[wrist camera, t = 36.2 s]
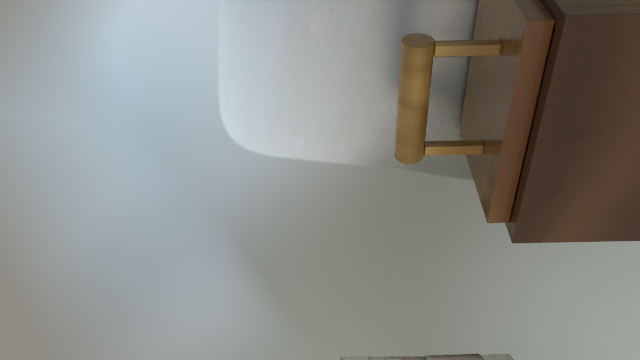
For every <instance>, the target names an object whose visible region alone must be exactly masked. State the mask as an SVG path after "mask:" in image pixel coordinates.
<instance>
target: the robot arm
mask: <svg viewBox="0 0 640 360" xmlns="http://www.w3.org/2000/svg"><path fill="white" fill-rule="evenodd" d="M340 360H513V358H512V357H511V356H510V355H509V354H489V355H479V354H462V355H461V354H460V355H431V356H424V357H423V356H418V357H416V356H414V357H368V356H366V357H365V356H364V357H341V358H340Z"/></svg>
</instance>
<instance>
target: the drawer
mask: <svg viewBox="0 0 640 360" xmlns="http://www.w3.org/2000/svg"><path fill="white" fill-rule="evenodd" d="M554 23H555V19H554V18H553V16H552V15H551V14H550V12H549V11H548V9H547V8H546V7H545V5H544V4H543V2H542V1H541V0H479V1H478V8H477V15H476V22H475V29H474V37H473V40H454V41H434V39H433V38H432V37H431V36H429V35H426V34H419V33H415V34H409V35H406V36H404V37H403V38H402V41H401V56H400V73H399V89H398V105H397V121H396V138H395V158H396V159H397V160H398V161H400V162H402V163H405V164H415V163H418V162H420V161H421V160H422V159H423V156H424V155H425V156H427V155H466V157H467V160H468V163H469V166H470V169H471V173H472V176H473V179H474V182H475V185H476V188H477V192H478V194H479V198H480V201H481V204H482V207H483V210H484V214H485V217H486V220H487V223H509V221H510V217H511V212H512V208H513V203H514V199H515V195H516V190H517V186H518V182H519V177H520V173H521V170H523V166H524V162H525V157H526V153H527V148H528V144H529V140H530V135H531V131H532V127H533V122H534V118H535V117H534V111H535V107H536V102H537V98H538V94H539V89H540V85H541V80H542V76H543V72H544V67H545V63H546V59H547V54H548V50H549V45H550V41H551V37H552V32H553V28H554ZM433 54H434V57H453V56H471V58H470V65H469V72H468V79H467V86H466V93H465V100H464V107H463V115H462V122H461V129H460V138H461V140H459V141H425V135H426V125H427V115H428V105H429V95H430V85H431V74H432V64H433Z"/></svg>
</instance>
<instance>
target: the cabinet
mask: <svg viewBox="0 0 640 360" xmlns="http://www.w3.org/2000/svg"><path fill="white" fill-rule="evenodd" d="M541 1H542V2H543V4H544V5H545V7H546V8H547V9H548V11H549V12H550V14H551V15H552V16H553V18H554V19H555V23H554V26H556V27H555V31H554V35H553V40H552V44H551V48H550V53H549V57H548V61H547V66H546V70H545V74H544V79H543V83H542V87H541V92H540V96H539V101H538V105H537V109H536V114H535V118H534V122H533V127H532V131H531V135H530V140H529V144H528V148H527V153H526V157H525V162H524V166H523V170H521V173H520V177H519V182H518V186H517V190H516V195H515V199H514V203H513V208H512V212H511V217H510V221H509V223H505V224H506V227H507V229H508V232H509V235H510V238H511V241H512V243H546V242H598V241H599V242H600V241H640V0H541Z"/></svg>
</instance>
